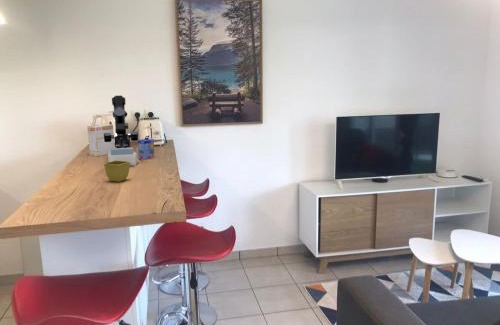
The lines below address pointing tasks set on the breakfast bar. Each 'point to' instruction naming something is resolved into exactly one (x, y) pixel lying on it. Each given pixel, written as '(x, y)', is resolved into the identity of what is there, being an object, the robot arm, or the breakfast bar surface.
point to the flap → (121, 151)
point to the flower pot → (117, 170)
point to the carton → (123, 158)
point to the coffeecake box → (100, 140)
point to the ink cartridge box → (146, 148)
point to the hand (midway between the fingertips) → (121, 148)
